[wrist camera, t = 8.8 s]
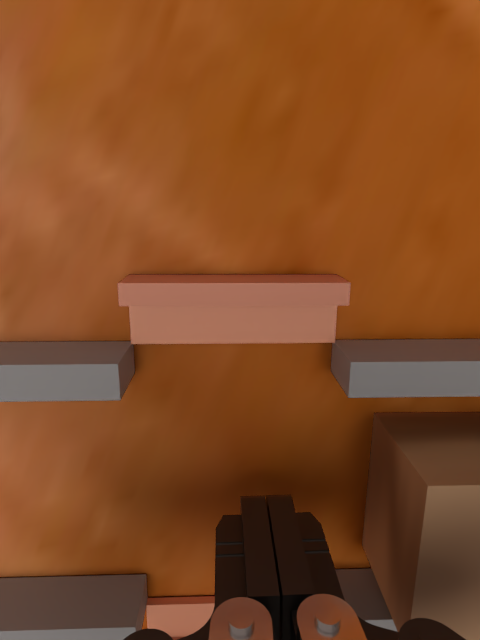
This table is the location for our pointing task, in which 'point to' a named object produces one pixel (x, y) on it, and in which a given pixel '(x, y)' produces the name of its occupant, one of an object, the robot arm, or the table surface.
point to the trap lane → (207, 328)
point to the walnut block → (426, 517)
